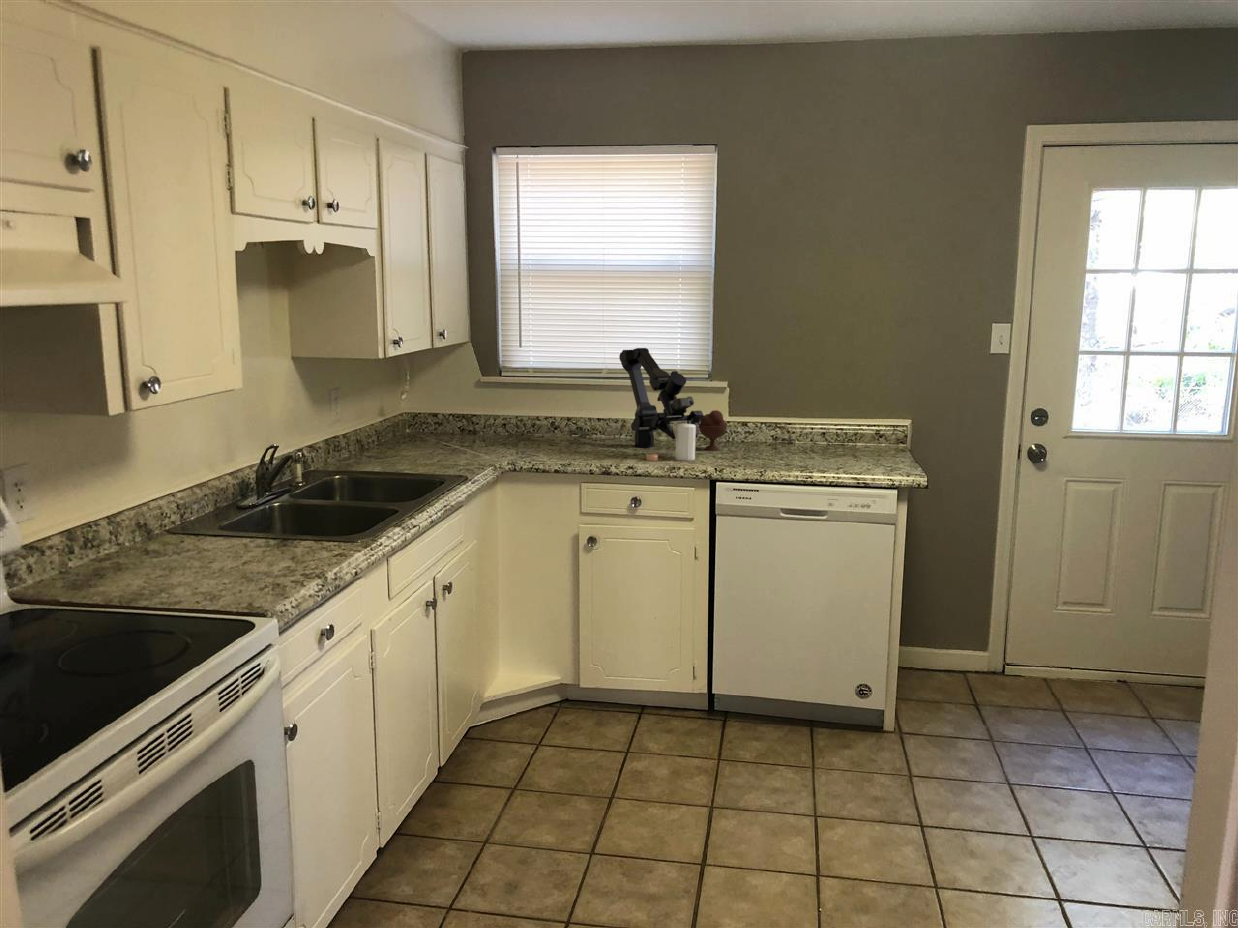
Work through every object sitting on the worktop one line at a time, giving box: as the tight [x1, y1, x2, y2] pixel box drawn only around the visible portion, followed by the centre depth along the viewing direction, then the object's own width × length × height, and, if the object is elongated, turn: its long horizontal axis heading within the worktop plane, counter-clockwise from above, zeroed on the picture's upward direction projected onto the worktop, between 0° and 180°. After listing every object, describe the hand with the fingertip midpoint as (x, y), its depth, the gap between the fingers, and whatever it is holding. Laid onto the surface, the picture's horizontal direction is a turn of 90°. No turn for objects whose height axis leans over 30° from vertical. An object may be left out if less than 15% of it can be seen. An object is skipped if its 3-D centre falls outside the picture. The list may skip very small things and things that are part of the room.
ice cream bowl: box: [698, 409, 728, 452], centre depth 352 cm, size 11×11×15 cm
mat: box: [664, 455, 700, 463], centre depth 332 cm, size 9×9×1 cm
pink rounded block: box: [646, 453, 659, 462], centre depth 328 cm, size 4×4×2 cm
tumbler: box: [674, 423, 696, 461], centre depth 330 cm, size 7×7×12 cm
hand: (685, 437), depth 330 cm, fingers open, 9 cm apart
